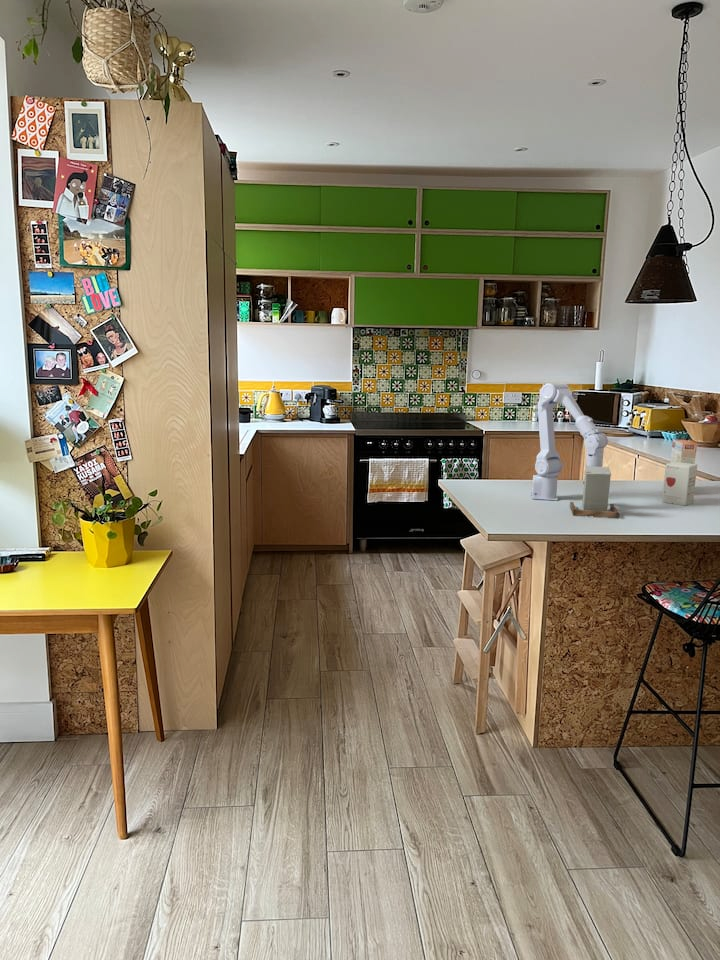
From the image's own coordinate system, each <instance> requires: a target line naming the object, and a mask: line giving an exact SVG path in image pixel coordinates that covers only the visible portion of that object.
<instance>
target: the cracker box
mask: <svg viewBox="0 0 720 960" xmlns="http://www.w3.org/2000/svg"><path fill="white" fill-rule="evenodd" d="M671 447H672V448H671V453H670V455H671V456H670V463H671V462H681V463H689V464H696V455H697V447H698V444H697V443H695V442H693V441H690V440H687V439H676V438H675V439H672V444H671Z"/></svg>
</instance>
